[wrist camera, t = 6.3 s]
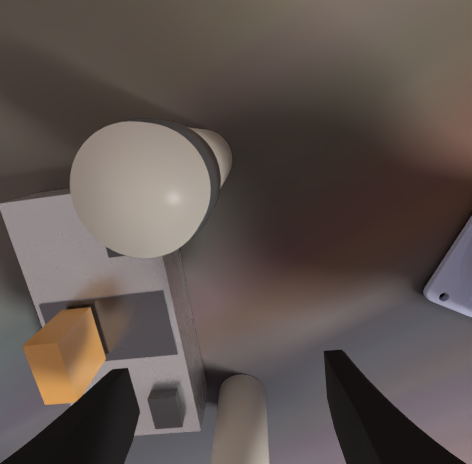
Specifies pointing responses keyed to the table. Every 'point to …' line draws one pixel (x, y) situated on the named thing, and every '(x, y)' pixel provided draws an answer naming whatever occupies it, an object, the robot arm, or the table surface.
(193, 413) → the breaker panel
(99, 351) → the block
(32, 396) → the table surface
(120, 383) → the robot arm
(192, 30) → the table surface
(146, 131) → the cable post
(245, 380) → the cable post
